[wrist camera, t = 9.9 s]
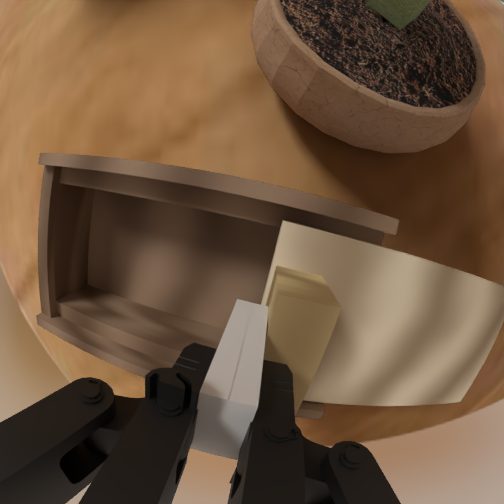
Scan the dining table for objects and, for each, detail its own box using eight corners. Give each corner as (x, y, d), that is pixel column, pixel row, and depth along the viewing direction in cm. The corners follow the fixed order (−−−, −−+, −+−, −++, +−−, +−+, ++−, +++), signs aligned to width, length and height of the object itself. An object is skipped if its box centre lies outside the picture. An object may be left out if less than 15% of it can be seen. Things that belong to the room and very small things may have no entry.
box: (84, 296, 22) (37, 324, 16) (96, 159, 20) (40, 152, 13) (311, 362, 21) (320, 419, 15) (359, 211, 19) (399, 220, 12)
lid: (239, 381, 16) (230, 435, 11) (282, 219, 14) (289, 232, 9) (456, 396, 16) (480, 429, 11) (509, 287, 13) (547, 308, 9)
